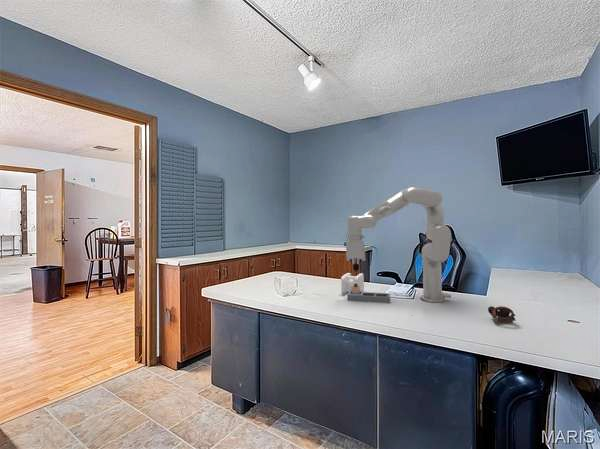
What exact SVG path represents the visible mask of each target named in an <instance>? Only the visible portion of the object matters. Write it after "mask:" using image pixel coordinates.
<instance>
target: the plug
mask: <svg viewBox="0 0 600 449" xmlns="http://www.w3.org/2000/svg"><path fill="white" fill-rule="evenodd" d="M352 294H360V286H358V284H354V286H352Z"/></svg>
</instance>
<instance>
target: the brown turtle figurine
mask: <svg viewBox="0 0 600 449" xmlns="http://www.w3.org/2000/svg"><path fill="white" fill-rule="evenodd" d="M487 311H488V313H489V314H490V315H491V317H492V319H493V324H494V323H495V324H494V325H496V324H497V325H503V324H505V325H506V324H509V323H513V322H516V321H517V320H516V318H515V317H516V316H517V315H516V314H515V313H514V310H512V309H511V308H509V307H507V306H500V305H499V306H497V307H495V306H493V305H492V306H491V305H490V306H489V307H488V308H487Z"/></svg>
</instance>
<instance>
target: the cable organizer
mask: <svg viewBox="0 0 600 449" xmlns="http://www.w3.org/2000/svg"><path fill="white" fill-rule="evenodd" d="M364 278H365V277H364V273H363V272H361V273H359V274H357V275H356V276H355V275H352V273H351V272H347V273H345V274H343V275H342V276H341V278H340V282H341V287H340V288H341V294H342V295H346V294H348V292H349V290H350V291H352V286H354V284H358V286H360V291H364V290H365V284H364V283H365V281H364V280H365V279H364Z"/></svg>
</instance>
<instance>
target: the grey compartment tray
mask: <svg viewBox="0 0 600 449" xmlns="http://www.w3.org/2000/svg"><path fill="white" fill-rule="evenodd" d="M346 294H347V295H346V296H347V301H348V302H362V303H363V302H364V303H380V304H390V302H391V297H390V296H391V294H390V293H386V292H385V293H384V292H367V291H366V292H365V291H364V290H363V291H360V294H352V291H350V290H349V292H347V293H346Z"/></svg>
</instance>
